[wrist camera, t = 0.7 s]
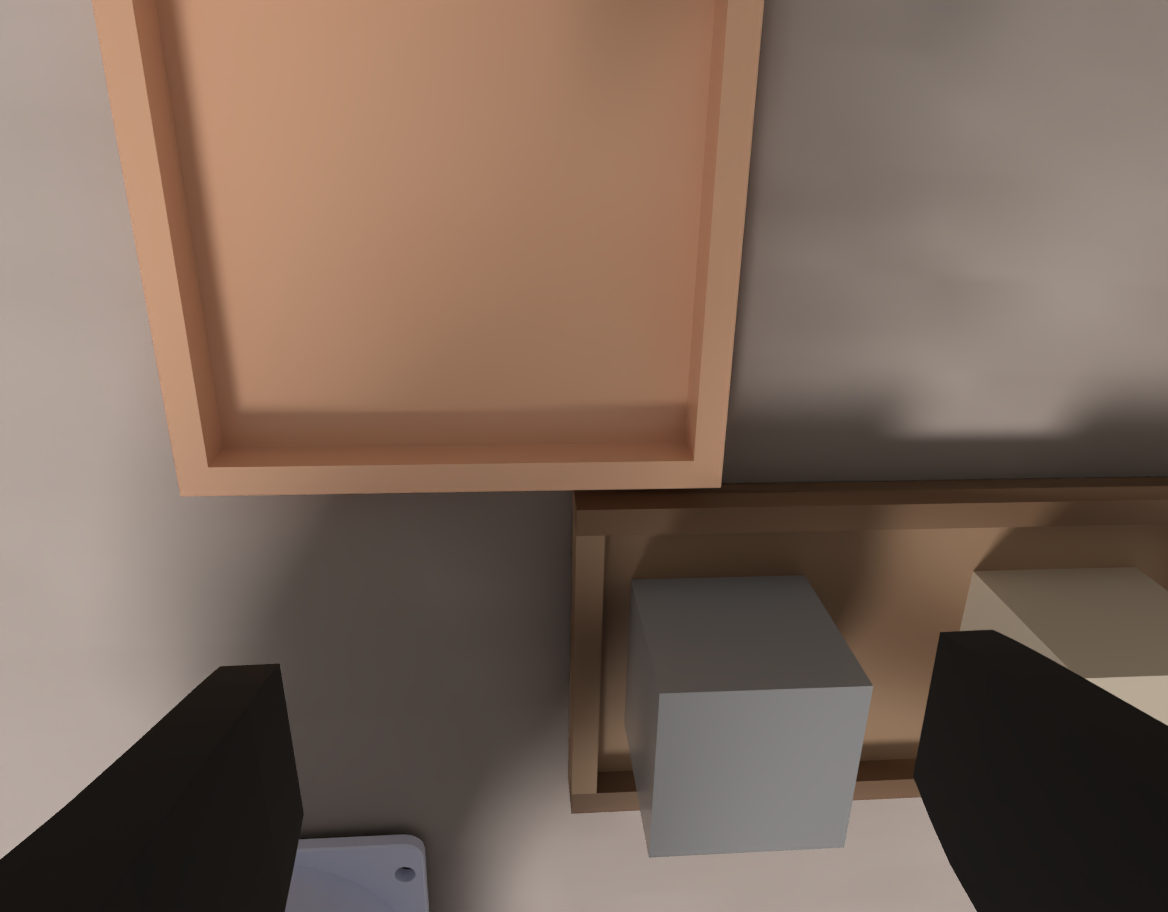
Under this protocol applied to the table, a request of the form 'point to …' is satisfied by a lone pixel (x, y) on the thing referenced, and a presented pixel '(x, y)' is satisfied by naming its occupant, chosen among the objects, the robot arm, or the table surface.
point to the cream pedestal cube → (1083, 625)
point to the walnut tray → (833, 584)
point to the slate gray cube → (741, 715)
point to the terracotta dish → (437, 237)
